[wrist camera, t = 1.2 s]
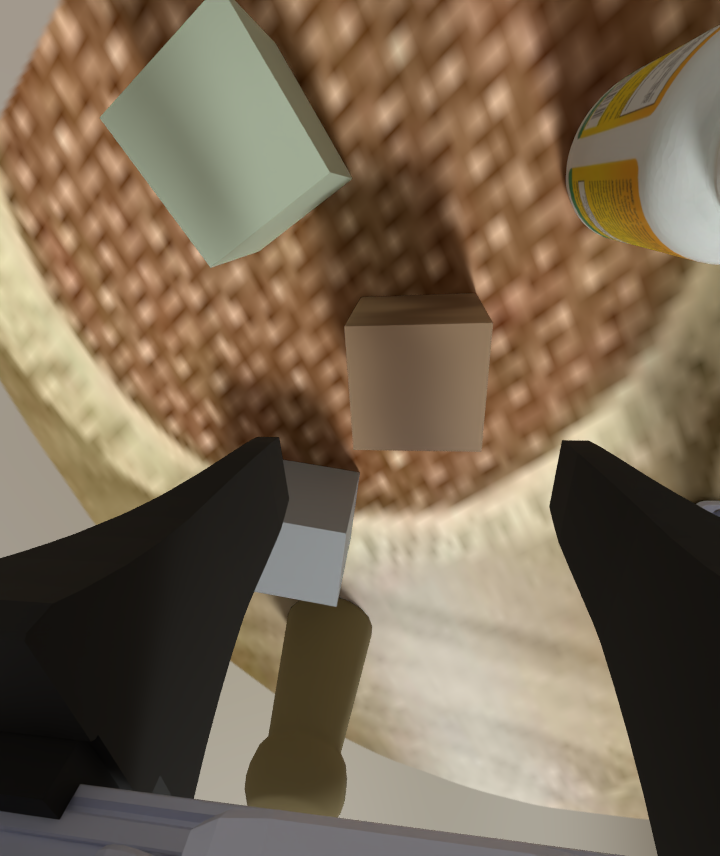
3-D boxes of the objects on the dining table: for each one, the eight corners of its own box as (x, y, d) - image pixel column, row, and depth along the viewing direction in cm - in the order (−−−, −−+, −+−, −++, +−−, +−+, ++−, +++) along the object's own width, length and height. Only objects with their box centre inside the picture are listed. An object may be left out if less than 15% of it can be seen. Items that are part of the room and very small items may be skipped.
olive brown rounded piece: (272, 605, 30) (202, 798, 20) (349, 587, 28) (313, 790, 19) (312, 658, 32) (266, 853, 23) (385, 645, 30) (370, 851, 21)
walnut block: (475, 292, 19) (492, 322, 14) (468, 398, 21) (481, 451, 17) (361, 296, 19) (344, 326, 15) (366, 398, 22) (353, 449, 17)
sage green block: (276, 44, 15) (219, -16, 11) (352, 178, 17) (330, 172, 13) (181, 138, 17) (99, 117, 13) (259, 251, 19) (210, 267, 14)
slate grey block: (360, 471, 24) (346, 533, 19) (350, 538, 26) (336, 606, 22) (272, 456, 24) (239, 514, 20) (271, 524, 26) (241, 589, 22)
